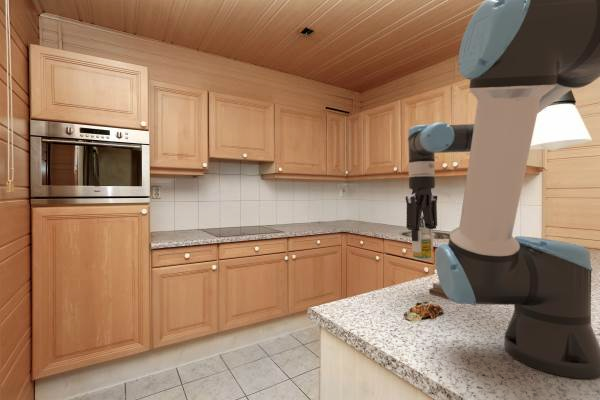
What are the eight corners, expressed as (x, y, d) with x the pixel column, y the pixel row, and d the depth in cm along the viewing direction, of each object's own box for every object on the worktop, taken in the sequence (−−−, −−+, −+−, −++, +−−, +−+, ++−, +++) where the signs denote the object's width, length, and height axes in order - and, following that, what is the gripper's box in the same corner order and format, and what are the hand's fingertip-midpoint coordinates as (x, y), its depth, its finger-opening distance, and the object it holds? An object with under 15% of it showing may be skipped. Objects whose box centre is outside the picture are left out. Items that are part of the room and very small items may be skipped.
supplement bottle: (421, 256, 99) (420, 226, 99) (435, 259, 94) (434, 228, 94) (409, 258, 97) (408, 228, 97) (422, 261, 92) (422, 229, 92)
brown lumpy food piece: (398, 318, 81) (398, 305, 81) (422, 307, 88) (422, 295, 88) (423, 327, 75) (423, 312, 75) (446, 314, 83) (446, 301, 83)
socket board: (456, 301, 91) (456, 291, 91) (429, 293, 98) (429, 284, 98) (476, 293, 98) (476, 283, 98) (449, 286, 105) (449, 277, 105)
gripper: (414, 174, 87) (415, 256, 87) (449, 176, 97) (450, 248, 98) (392, 176, 93) (393, 252, 93) (427, 177, 103) (428, 245, 104)
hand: (422, 250), depth 95 cm, fingers closed on supplement bottle, 5 cm apart
